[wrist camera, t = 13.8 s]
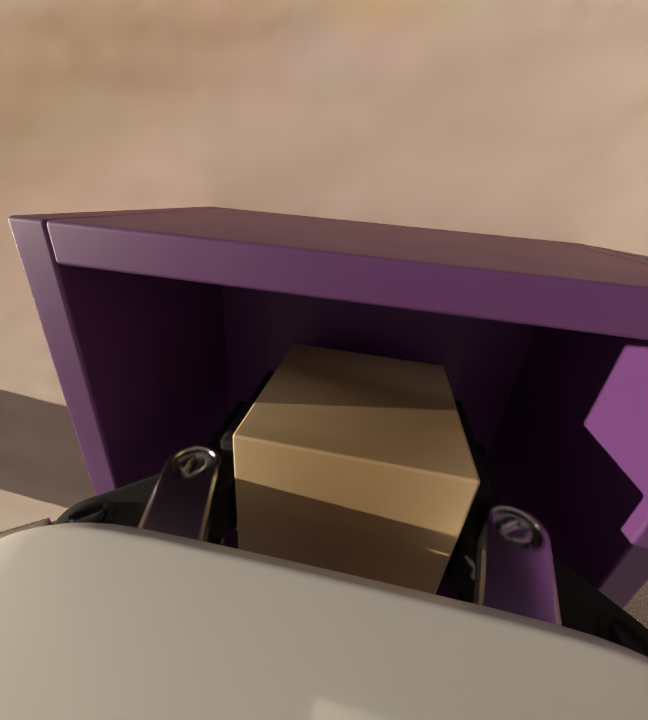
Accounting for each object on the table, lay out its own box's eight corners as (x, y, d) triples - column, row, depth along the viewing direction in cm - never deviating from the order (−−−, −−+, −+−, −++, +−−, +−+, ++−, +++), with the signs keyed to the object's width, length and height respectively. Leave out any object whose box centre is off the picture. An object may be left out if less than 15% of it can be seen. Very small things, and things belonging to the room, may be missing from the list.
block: (288, 454, 14) (238, 579, 9) (293, 342, 11) (230, 435, 7) (413, 478, 13) (424, 624, 9) (444, 364, 11) (482, 482, 6)
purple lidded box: (208, 206, 13) (4, 215, 6) (583, 243, 11) (883, 313, 4) (228, 503, 20) (146, 659, 14) (456, 551, 19) (496, 756, 12)
